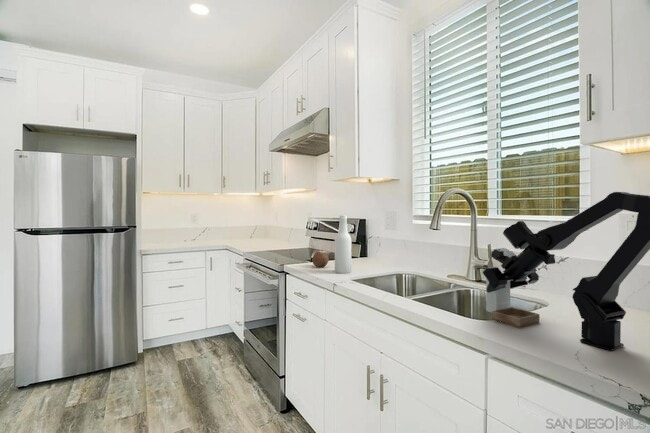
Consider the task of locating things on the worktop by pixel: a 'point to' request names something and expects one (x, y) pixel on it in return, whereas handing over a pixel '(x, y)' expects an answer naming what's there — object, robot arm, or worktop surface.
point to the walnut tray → (515, 317)
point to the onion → (320, 259)
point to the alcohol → (343, 247)
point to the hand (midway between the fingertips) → (494, 290)
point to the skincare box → (498, 298)
